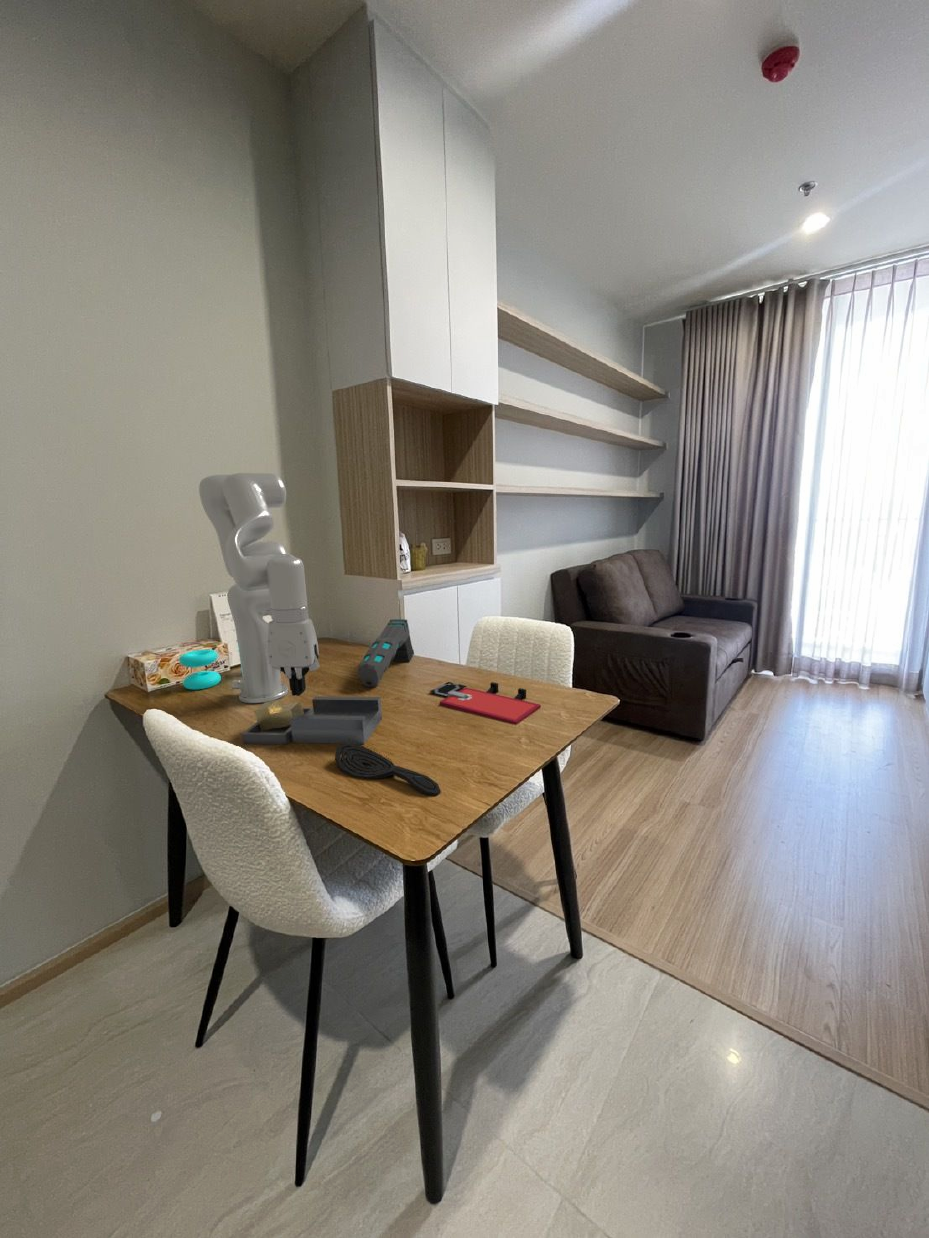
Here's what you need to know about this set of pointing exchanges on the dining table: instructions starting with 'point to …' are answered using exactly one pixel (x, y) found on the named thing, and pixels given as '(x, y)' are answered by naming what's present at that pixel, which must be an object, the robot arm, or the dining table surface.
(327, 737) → the slot block
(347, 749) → the hairbrush
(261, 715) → the brass chip
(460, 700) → the red board with handle
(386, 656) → the gun
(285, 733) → the chip tray
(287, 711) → the brass chip
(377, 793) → the dining table surface
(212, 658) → the donuts
